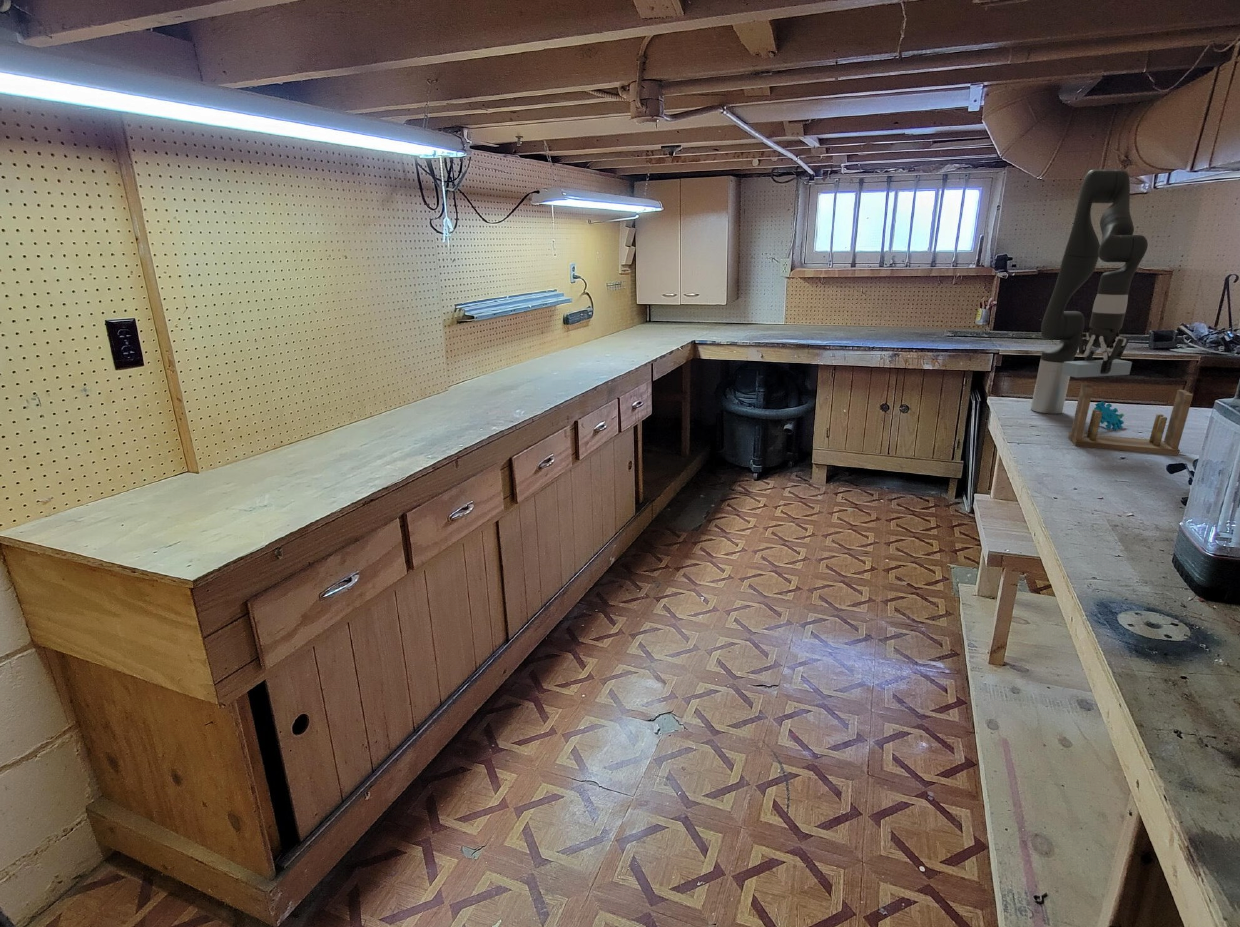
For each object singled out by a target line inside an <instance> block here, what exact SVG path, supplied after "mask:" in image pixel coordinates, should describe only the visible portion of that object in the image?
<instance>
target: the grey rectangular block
mask: <svg viewBox="0 0 1240 927" xmlns="http://www.w3.org/2000/svg"><path fill="white" fill-rule="evenodd" d="M1103 360H1104V359H1094V360H1092V361H1084V360H1074V361H1070V362H1064V364H1063V369H1062V375H1067V376H1070V378H1071V377H1072V378H1090V377H1091V378H1093V377H1107V376H1109V377H1111V376H1127V375H1130V373H1131V368H1132V365H1133V361H1128V360H1123V359H1115V360H1113V362H1112V366H1111V370H1110V372H1109V373H1108V374H1101V373H1100V371H1101V367H1102V362H1103Z"/></svg>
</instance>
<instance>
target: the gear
mask: <svg viewBox="0 0 1240 927" xmlns="http://www.w3.org/2000/svg"><path fill="white" fill-rule="evenodd" d="M1112 407H1113V405H1112V404H1111V402H1110V403H1109V402H1108V403H1106V402H1105V401H1103V400H1102V401H1101V402H1097V403H1096V404H1095V407H1094V408H1093V410H1099V412H1101V413H1102V417H1101V421H1100V425H1102V424H1104V423H1106V425H1105V427H1106V428H1107V429H1110V428H1111V430H1112V431H1117V430H1120V429H1122V428H1123V426H1122V425H1124V423H1125V422H1124V420H1122V418H1123V417H1124V416H1125V414H1124V413H1120V414H1119V413H1118V412H1119V410H1118V408H1116V407H1114V408H1113V409H1112Z"/></svg>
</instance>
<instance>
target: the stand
mask: <svg viewBox="0 0 1240 927" xmlns="http://www.w3.org/2000/svg"><path fill="white" fill-rule="evenodd" d="M1093 392H1094V387H1092V386H1090V384H1087V383H1081V386H1080V390H1079V394H1078V400H1077V404H1076V408H1075V413H1074V418H1073V422H1072V426H1071V431H1070V432H1069V433H1068V439H1069V440H1070V442H1071V443H1072V444H1073V445H1074V446H1075V447H1080V448H1092V449H1101V450H1102V449H1104V450H1113V451H1126V452H1135V453H1148V454H1158V455H1170V456H1179V455H1180V452H1181V450H1180V449H1179V446H1180V442H1181V439H1182V436H1183V432H1184V428H1185V425H1186V422H1187V418H1188V414H1189V412H1190V407H1191V405H1192V404H1191V403H1192V400H1193V397H1194V394H1192V393H1191V392H1189V391H1187V390H1185V389H1177V392H1176V395H1175V400H1174V403H1173V407H1172V410H1171V414H1170V417H1169V421H1168V417H1165V416H1164V415H1163V414H1159V413H1157V414H1155V417H1154V422H1153V425H1152V429H1151V433H1150V437H1149V439H1148V438H1147V439H1146V438H1139V437H1138V438H1135V437H1123V436H1114V435H1113V436H1112V435H1110V436H1109V435H1101V434H1100V435H1099V434H1098V433H1099V430H1100V426H1101V423H1100V421H1101V417H1102V413H1101V412H1099V410H1094V409H1092V411H1091V416H1090V420H1089V423H1088V424H1089V425H1088V427H1087V428H1088V430H1087V431H1086V432H1087V433H1084V431H1085V428H1086V422H1087V417H1088V414H1089V408H1090V404H1091V401H1092V395H1093ZM1167 421H1168V425H1167ZM1166 425H1167V428H1166ZM1165 429H1166V431H1165ZM1164 432H1166V433H1165V435H1164ZM1163 436H1164V439H1162V438H1163Z"/></svg>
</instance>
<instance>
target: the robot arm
mask: <svg viewBox="0 0 1240 927" xmlns="http://www.w3.org/2000/svg"><path fill="white" fill-rule="evenodd" d="M1130 199H1131V180H1130V176H1129V172H1127V171H1126V170H1123V169H1091V170H1089V171H1088V172H1087V173H1086V175H1085V176H1084V179H1083V181H1082V183H1081V187H1080V191H1079V196H1078V201H1077V205H1076V210H1075V214H1074V220H1073V223H1072V227H1071V230H1070V234H1069V237H1068V240H1067V244H1066V246H1065V250H1064V253H1063V256H1062V261H1061V263H1060V269H1059V272H1058V275H1057V279H1056V282H1055V285H1054V288H1053V292H1052V293H1051V297H1050V299H1049V302H1048V305H1047V307H1046V310H1045V313H1044V315H1043V319H1042V321H1041V326H1040V333H1041V337H1042V338H1043V339H1044V340H1047V341H1048V340H1049V341H1051V340H1052V341H1055V340H1056V341H1059V342H1058V343H1057V344H1056V345H1054V346H1052V347H1050V348H1047V349H1045V350H1042V352H1041V356H1040V361H1039V364H1038V365H1039V366H1038V371H1037V376H1036V381H1035V385H1034V390H1033V396H1032V402H1031V406H1030V410H1031V411H1034V412H1037V413H1042V414H1051V415H1052V414H1053V415H1055V414H1056V415H1057V414H1062V413H1063V410H1064V406H1065V402H1066V397H1067V392H1068V389H1069V388H1068V387H1069V382H1070V379H1071V376H1067V375H1062V369H1063V364H1064V362H1070V361H1075V360H1074V359H1075V357H1076V355H1077V353H1078V354H1079V355H1082V356H1083V358H1084V359H1083V361H1092V360H1095V357H1094V356H1095V354H1096V353H1097V351H1098V350H1101V353H1102V357H1103V359H1102V360H1103V362H1102V367H1101V371H1100V373H1101V374H1108V373H1109V372H1110V370H1111V366H1112V362H1113V360H1115V359H1118V360H1121V358H1122V357H1123V353H1124V352H1125V349H1126V348H1127V345H1128V343H1129V342H1130V341H1129V340H1130V338H1128V337H1127V338H1126V337H1125V338H1124V337H1122V336H1120V330H1122V329H1123V324H1124V321H1125V317H1126V312H1127V306H1128V300H1129V299H1128V298H1129V292H1130V288H1131V285H1132V281H1133V277H1134V275H1135V273H1136V271H1137V269H1138V267H1139V265H1140V263H1141V261H1142V259H1144V256H1145V254H1146V253H1147V250H1148V247H1149V246H1148V245H1149V243H1148V240H1147V238H1146V237H1145V236H1144V235H1141V234H1134V232H1135V227H1134V223H1133V222H1134V221H1133V220H1132V216H1131V211H1130V210H1131V209H1130V202H1131V200H1130ZM1093 204H1111V205H1109V206H1108V207H1107V208H1106V209H1105V211H1104V212H1103V213H1102V215H1101V217H1100V220H1099V226H1100V231H1101V235H1102V238H1101V242H1099V239H1098V236H1097V234H1096V232H1095V229H1094V226H1093V222H1092V217H1091V215H1092V214H1091V211H1092V206H1093ZM1098 260H1100V261H1102V262H1104V263H1124V265H1123V266H1122V267H1121V268H1119V269H1116V270H1110V271H1106V272H1103V273H1102V274H1101V276H1100V279H1099V283H1098V287H1097V294H1096V296H1095V299H1094V302H1093V305H1092V312H1091V316H1090V320H1089V325H1088V326H1089V328H1090V329H1089V331H1088V332H1084V328H1085V317H1084V314H1083V313H1082V312H1081V311H1078V310H1077V311H1076V310H1066V307H1067V304H1068V302H1069V301H1070V299H1071V298H1072V296H1073V295H1074V294H1075V293H1076V292H1077V290H1079V289H1080V288H1081V287H1082V286H1083V285H1084V284H1085V283H1086V282H1087V281H1088V280H1089V279H1090V277H1091V276H1092V275H1093V274H1094V271H1095V270H1096V267H1097V262H1098Z"/></svg>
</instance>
